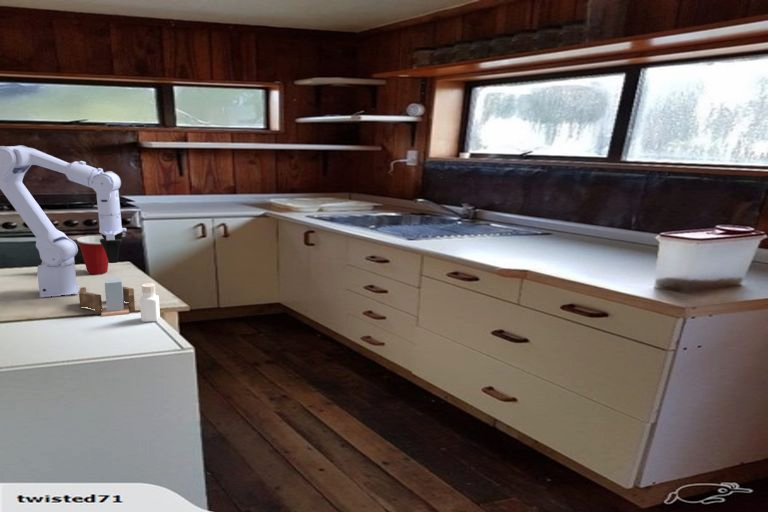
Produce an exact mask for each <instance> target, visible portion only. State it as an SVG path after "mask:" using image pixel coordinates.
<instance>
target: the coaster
mask: <svg viewBox="0 0 768 512" xmlns="http://www.w3.org/2000/svg"><path fill="white" fill-rule="evenodd" d="M128 314H130V305H129V304H124V310H122V311H111V312H107V306H102V311H101V314H100V316H101V317H108V316H109V317H110V316H119V315H128Z"/></svg>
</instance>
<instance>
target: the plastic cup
mask: <svg viewBox="0 0 768 512" xmlns="http://www.w3.org/2000/svg"><path fill="white" fill-rule="evenodd" d="M100 239H104V238H103V237H102V235H100V236H99V235H87V236H86V235H85V236H81V237H78V238H77V239H76V242H77V243H78V244H79V248H80V251H81V254H82V258H83V261H84V265H85V269H86V272H87V274H88V275H91V276H92V275H93V276H98V275H103V274H107V273H108V269H109V261H108V258H107V255H106V252H105V249H104V247H103V246H102V244H101V243H100Z"/></svg>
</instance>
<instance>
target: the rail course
mask: <svg viewBox="0 0 768 512" xmlns="http://www.w3.org/2000/svg"><path fill="white" fill-rule="evenodd" d="M78 297H79V307H88V308H91V309H95V311H94V313H95V315H101V312H102V311H101V309H102V307H103V303H102V295H101V294H98V293H93V292H88V291H87V289H86V287H85V286H84V287H83V286H82V287H80V289H79V292H78ZM123 299H124V301H125V302H129V304H128V305H129V312H135V311H136V309H135V308H136V303H135V302H136V301H135V289H134V288H133V287H128V286H123Z"/></svg>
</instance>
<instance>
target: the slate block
mask: <svg viewBox="0 0 768 512" xmlns="http://www.w3.org/2000/svg"><path fill="white" fill-rule="evenodd" d="M123 287H124V286H123V277H120V278H117V277H116V278H106V279H104V291H105V303H106V306H105V307H107V312H111V311H122V310H124V305H125V303H124V299H123Z"/></svg>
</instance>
